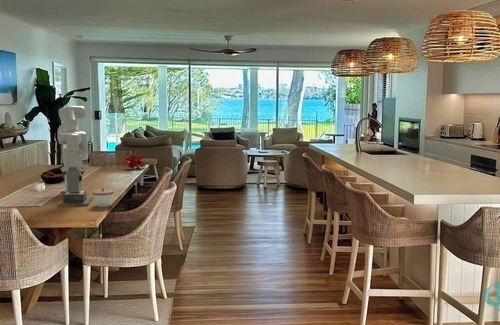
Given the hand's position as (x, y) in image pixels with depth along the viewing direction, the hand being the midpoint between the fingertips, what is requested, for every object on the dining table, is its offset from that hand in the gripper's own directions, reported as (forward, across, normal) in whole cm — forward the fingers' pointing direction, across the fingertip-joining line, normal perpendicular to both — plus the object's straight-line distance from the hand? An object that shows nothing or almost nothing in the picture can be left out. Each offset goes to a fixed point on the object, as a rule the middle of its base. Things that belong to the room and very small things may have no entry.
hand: (74, 181), depth 304 cm
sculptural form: (+15, -27, -147) cm, 150 cm away
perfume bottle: (+6, 0, 0) cm, 6 cm away
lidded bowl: (+14, -18, +11) cm, 26 cm away
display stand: (+14, 0, 0) cm, 14 cm away
